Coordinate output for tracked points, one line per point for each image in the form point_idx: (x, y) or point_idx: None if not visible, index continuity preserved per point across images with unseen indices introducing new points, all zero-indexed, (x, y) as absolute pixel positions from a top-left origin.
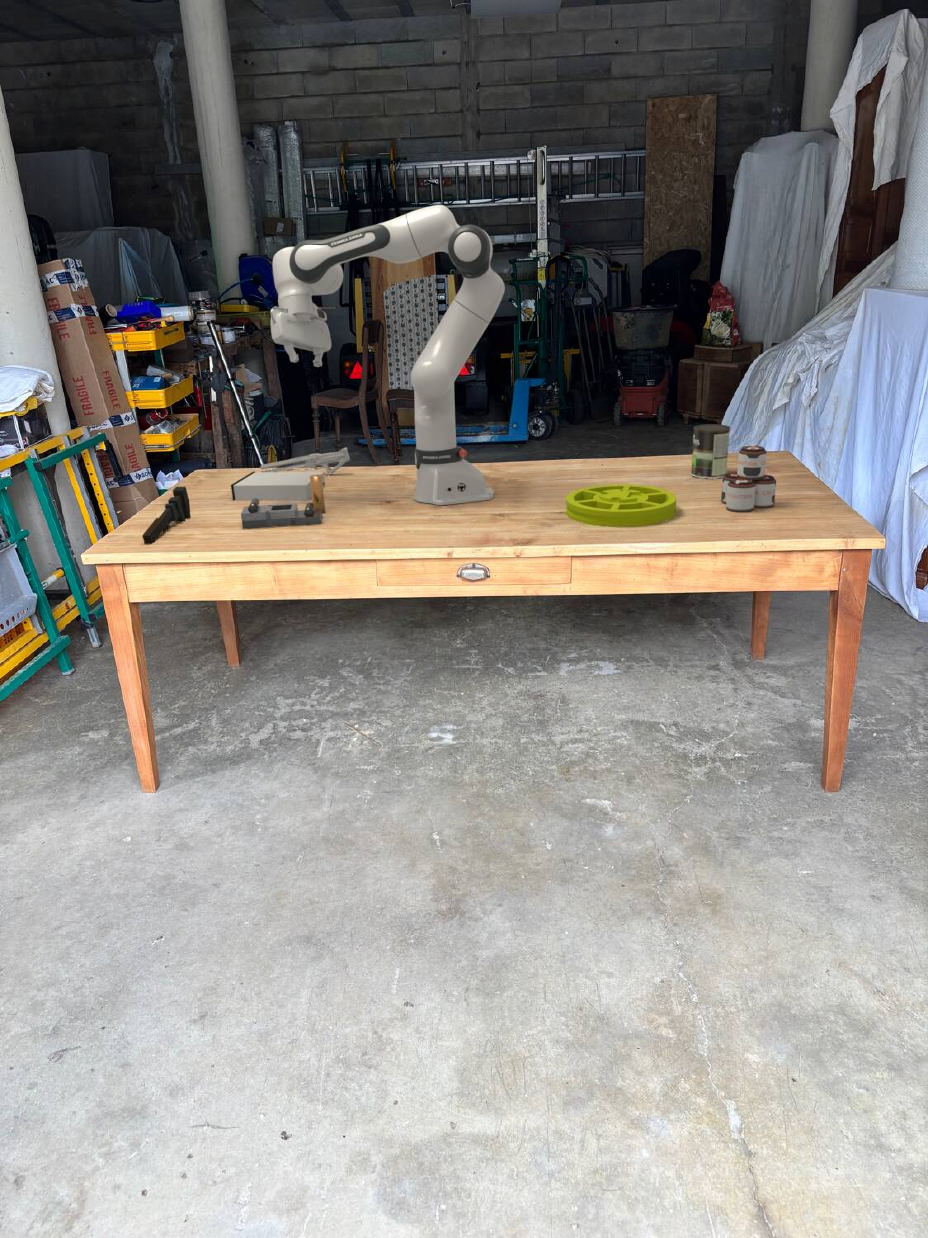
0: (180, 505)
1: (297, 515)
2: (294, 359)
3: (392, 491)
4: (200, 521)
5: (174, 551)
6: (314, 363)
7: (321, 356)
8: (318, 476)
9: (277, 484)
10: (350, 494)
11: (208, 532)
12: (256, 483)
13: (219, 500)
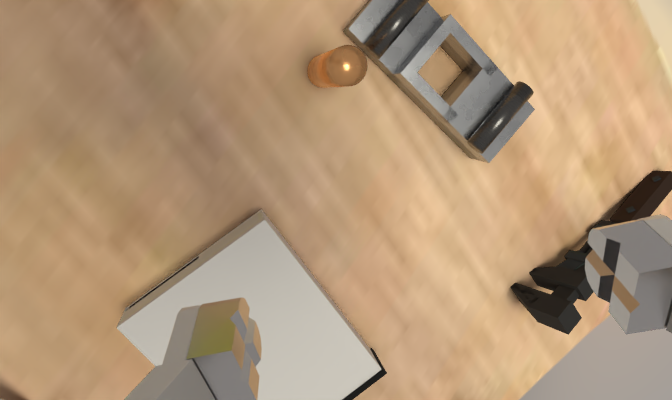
0: (564, 277)
1: (424, 33)
2: (662, 223)
3: (18, 76)
4: (519, 240)
5: (667, 83)
6: (252, 359)
7: (142, 392)
8: (348, 51)
9: (307, 292)
10: (140, 160)
11: (561, 148)
12: (333, 345)
13: (392, 373)
